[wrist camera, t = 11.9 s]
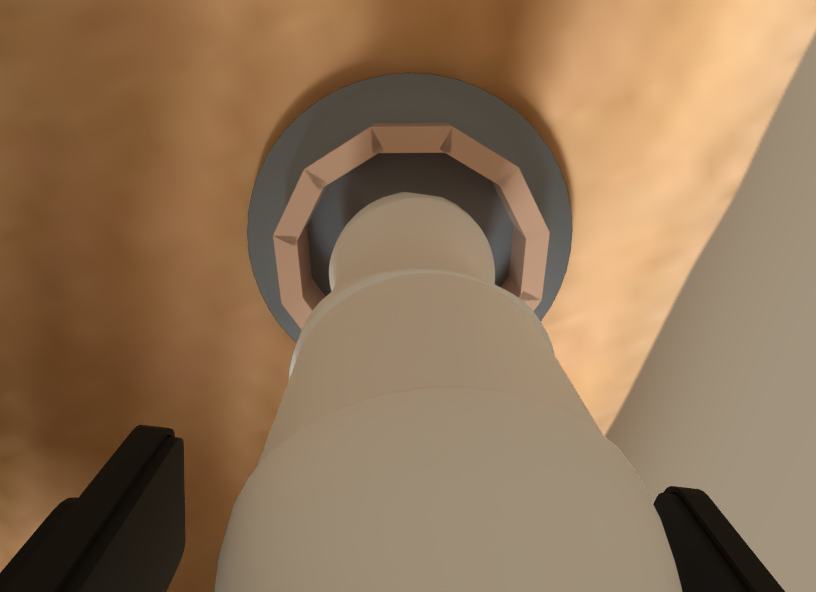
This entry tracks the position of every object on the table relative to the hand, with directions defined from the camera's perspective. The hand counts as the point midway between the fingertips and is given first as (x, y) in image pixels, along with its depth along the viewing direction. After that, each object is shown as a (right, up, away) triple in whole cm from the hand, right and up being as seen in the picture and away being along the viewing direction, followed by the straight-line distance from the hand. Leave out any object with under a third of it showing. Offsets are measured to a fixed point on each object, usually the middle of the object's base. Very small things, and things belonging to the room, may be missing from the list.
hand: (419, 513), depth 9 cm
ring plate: (0, +7, +15) cm, 16 cm away
